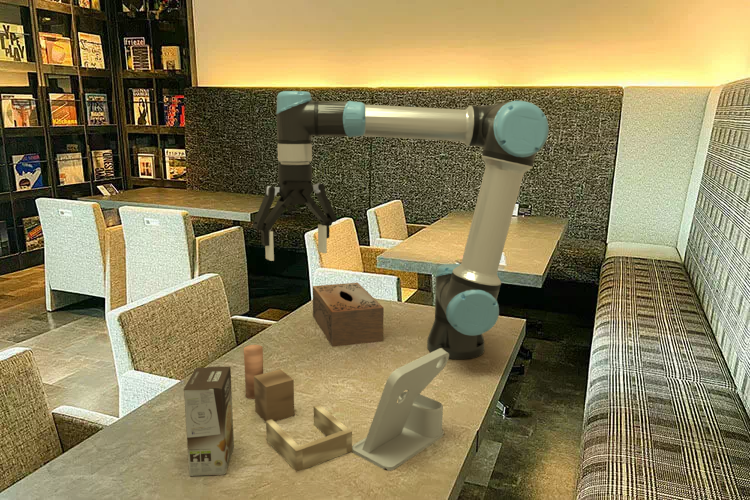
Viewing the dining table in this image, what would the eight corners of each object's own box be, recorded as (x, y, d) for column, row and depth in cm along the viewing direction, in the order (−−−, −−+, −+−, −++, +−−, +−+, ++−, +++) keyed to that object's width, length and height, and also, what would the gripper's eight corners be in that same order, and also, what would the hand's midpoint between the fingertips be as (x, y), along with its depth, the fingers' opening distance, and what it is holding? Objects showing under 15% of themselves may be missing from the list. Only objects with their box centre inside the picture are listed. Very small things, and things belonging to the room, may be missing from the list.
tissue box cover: (383, 342, 158) (383, 307, 156) (332, 347, 154) (331, 312, 152) (357, 312, 182) (357, 282, 180) (312, 316, 178) (312, 286, 176)
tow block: (238, 394, 126) (236, 348, 124) (263, 388, 130) (262, 342, 127) (267, 424, 114) (265, 372, 112) (294, 415, 118) (293, 365, 115)
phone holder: (407, 416, 118) (409, 334, 114) (448, 434, 112) (452, 347, 108) (348, 450, 106) (348, 359, 102) (390, 473, 99) (392, 376, 95)
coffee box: (226, 475, 98) (222, 388, 94) (188, 476, 97) (182, 389, 94) (235, 445, 107) (231, 365, 103) (199, 447, 106) (194, 366, 103)
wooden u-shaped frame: (266, 440, 109) (265, 421, 108) (319, 422, 115) (318, 404, 114) (296, 472, 99) (296, 451, 98) (352, 451, 105) (352, 431, 104)
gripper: (334, 160, 138) (334, 246, 142) (235, 163, 124) (239, 259, 128) (351, 162, 132) (351, 252, 136) (249, 166, 118) (252, 266, 122)
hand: (296, 255), depth 132 cm, fingers open, 13 cm apart
